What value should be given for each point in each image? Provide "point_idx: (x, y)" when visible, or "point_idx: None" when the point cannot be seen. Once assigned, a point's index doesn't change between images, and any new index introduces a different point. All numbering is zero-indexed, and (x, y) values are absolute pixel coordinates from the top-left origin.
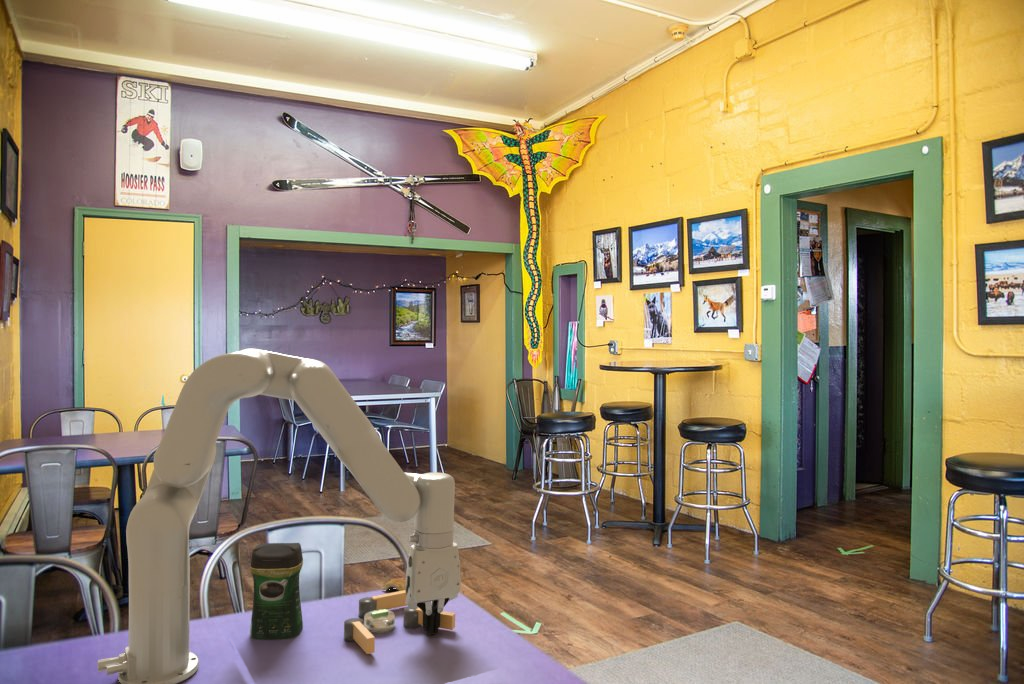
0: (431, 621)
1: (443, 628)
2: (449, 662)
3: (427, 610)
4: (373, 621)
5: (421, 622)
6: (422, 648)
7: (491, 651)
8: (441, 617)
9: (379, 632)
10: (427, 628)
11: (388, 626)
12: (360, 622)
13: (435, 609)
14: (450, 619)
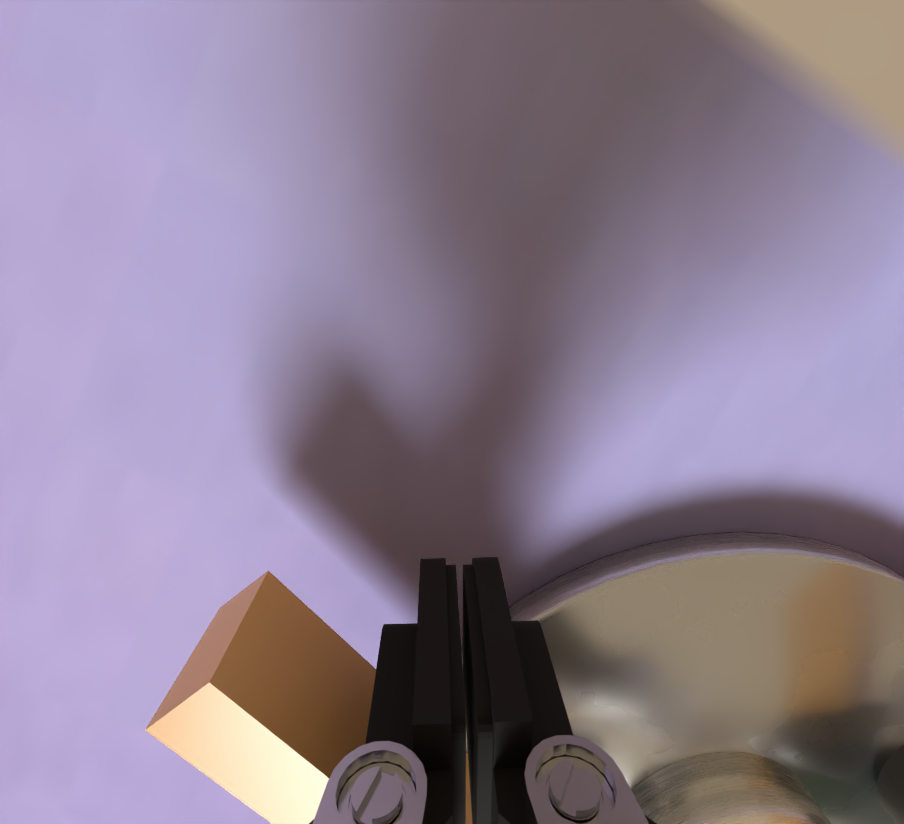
0: (515, 652)
1: (329, 628)
2: (479, 178)
3: (617, 815)
4: None
5: (468, 771)
6: (550, 507)
7: (31, 177)
8: (324, 730)
9: (772, 770)
10: (522, 624)
11: (726, 804)
12: None
13: (442, 821)
14: (246, 657)
